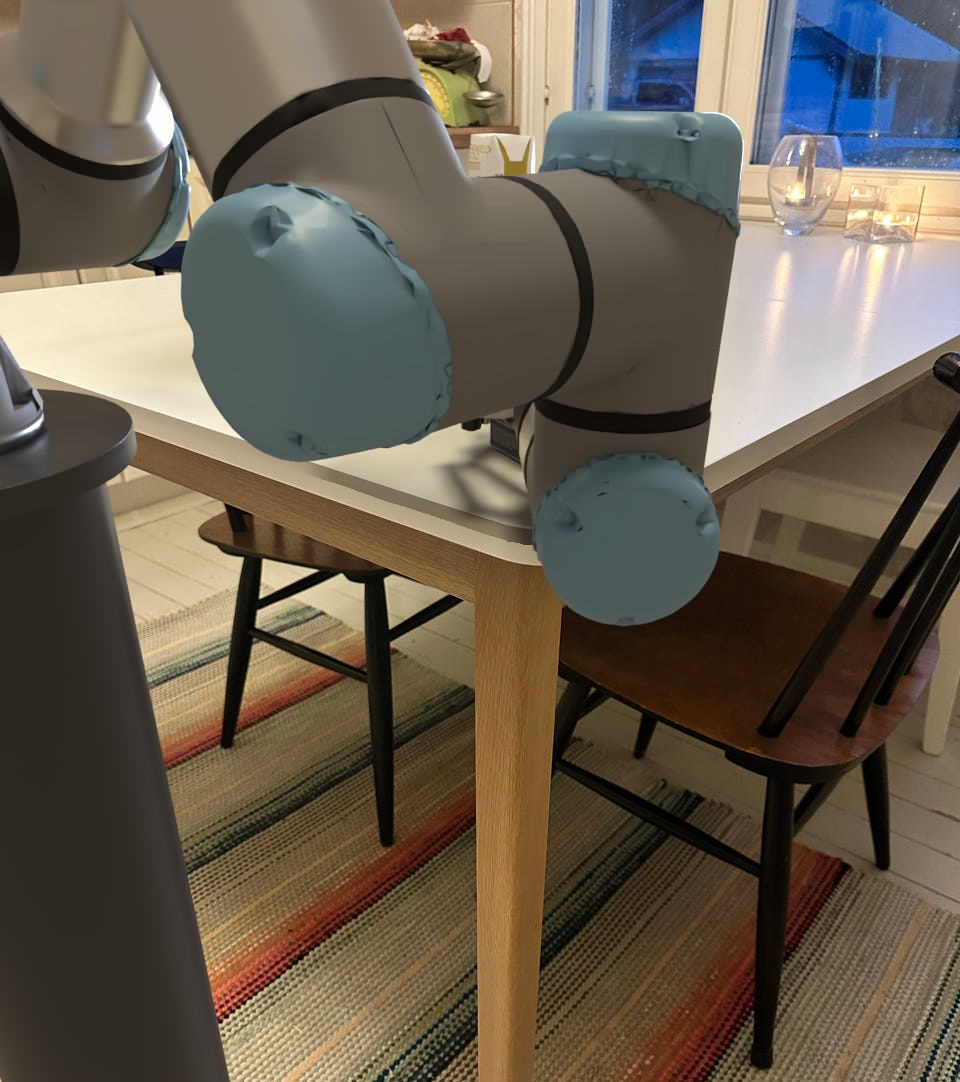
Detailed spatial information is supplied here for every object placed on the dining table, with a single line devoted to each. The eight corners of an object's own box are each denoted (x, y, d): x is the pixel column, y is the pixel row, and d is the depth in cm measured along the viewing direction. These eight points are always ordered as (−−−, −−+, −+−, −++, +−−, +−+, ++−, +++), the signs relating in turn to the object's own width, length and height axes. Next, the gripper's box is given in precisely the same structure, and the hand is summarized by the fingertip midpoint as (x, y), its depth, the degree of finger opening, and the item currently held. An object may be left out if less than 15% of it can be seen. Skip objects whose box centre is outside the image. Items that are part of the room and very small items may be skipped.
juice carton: (488, 292, 126) (490, 135, 117) (463, 282, 133) (463, 133, 124) (536, 288, 129) (542, 134, 120) (509, 279, 136) (513, 133, 126)
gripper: (388, 504, 52) (406, 395, 71) (773, 504, 52) (687, 396, 72) (382, 369, 48) (402, 293, 67) (798, 371, 48) (699, 295, 68)
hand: (549, 346), depth 69 cm, fingers closed on box, 9 cm apart
